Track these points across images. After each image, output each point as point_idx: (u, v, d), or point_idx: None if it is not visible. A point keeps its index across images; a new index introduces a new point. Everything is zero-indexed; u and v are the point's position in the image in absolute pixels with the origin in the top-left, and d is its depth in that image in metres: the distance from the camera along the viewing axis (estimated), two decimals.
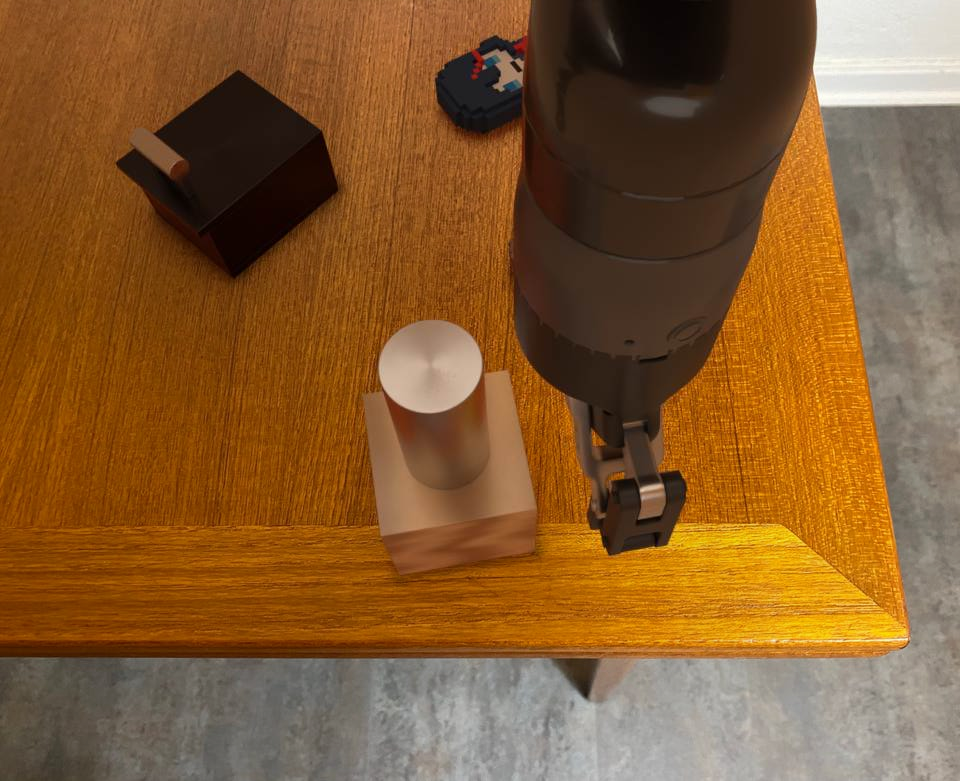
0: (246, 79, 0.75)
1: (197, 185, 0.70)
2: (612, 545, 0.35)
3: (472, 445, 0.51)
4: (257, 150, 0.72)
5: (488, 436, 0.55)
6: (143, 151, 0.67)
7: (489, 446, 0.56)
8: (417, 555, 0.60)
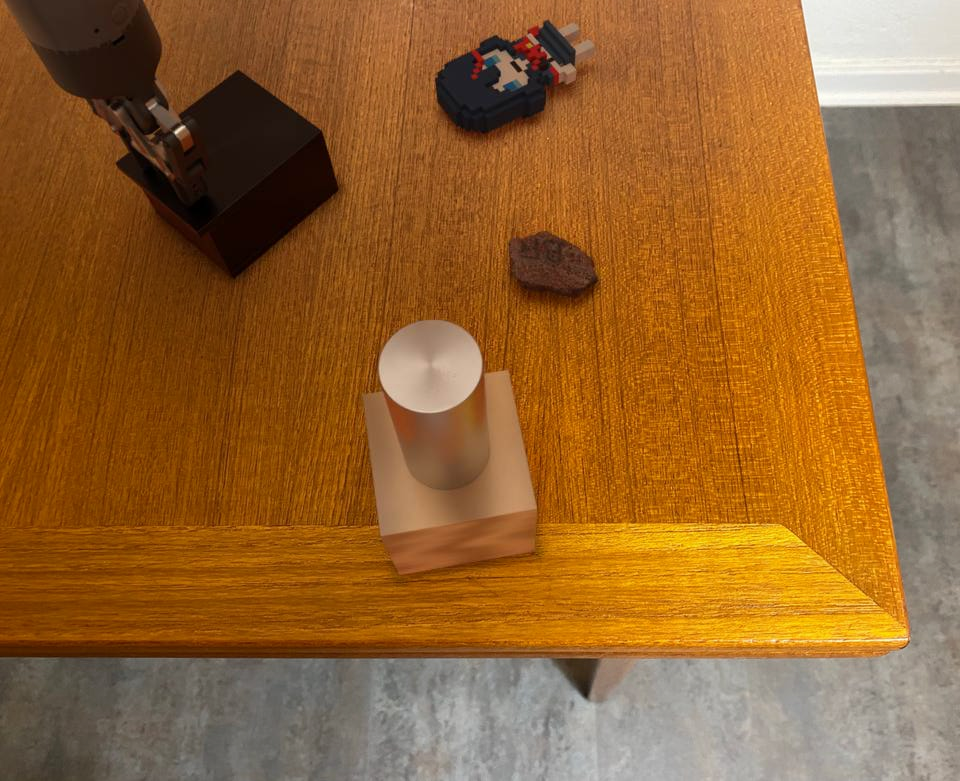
0: (246, 79, 0.75)
1: None
2: (182, 177, 0.63)
3: (472, 445, 0.51)
4: (257, 150, 0.72)
5: (488, 436, 0.55)
6: None
7: (489, 446, 0.56)
8: (417, 555, 0.60)
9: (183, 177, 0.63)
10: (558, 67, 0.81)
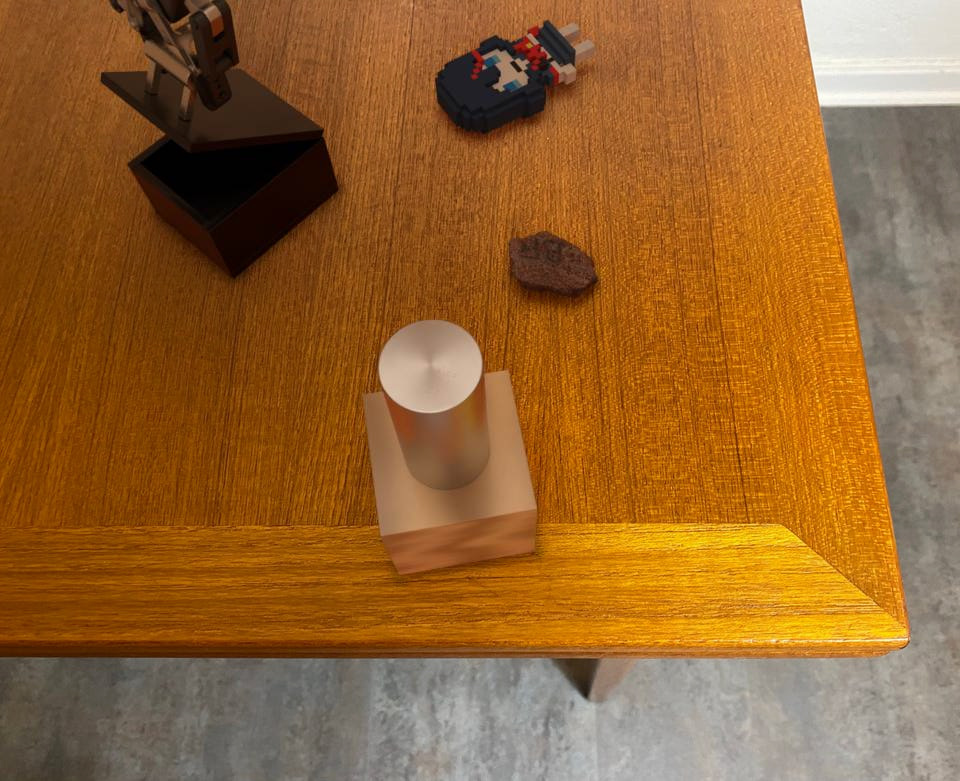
0: (248, 76, 0.75)
1: (193, 116, 0.66)
2: (210, 68, 0.59)
3: (472, 445, 0.51)
4: (258, 118, 0.69)
5: (488, 436, 0.55)
6: (160, 52, 0.63)
7: (489, 446, 0.56)
8: (417, 555, 0.60)
9: (210, 68, 0.59)
10: (558, 67, 0.81)
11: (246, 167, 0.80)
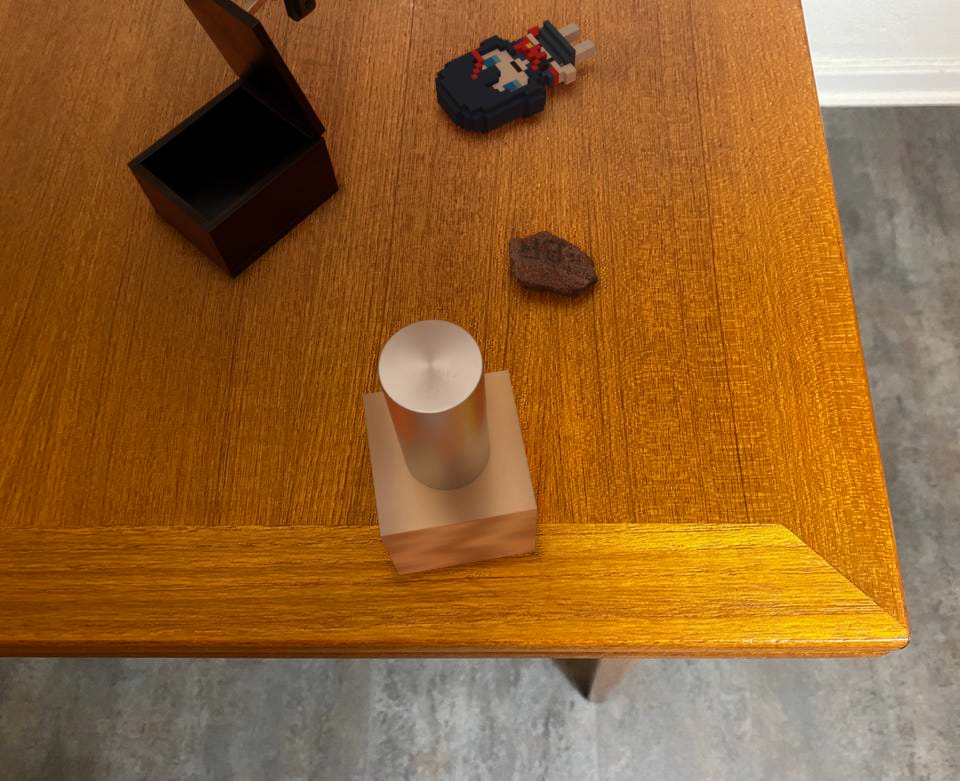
0: None
1: None
2: None
3: (472, 445, 0.51)
4: None
5: (488, 436, 0.55)
6: None
7: (489, 446, 0.56)
8: (417, 555, 0.60)
9: None
10: (558, 67, 0.81)
11: (246, 167, 0.80)
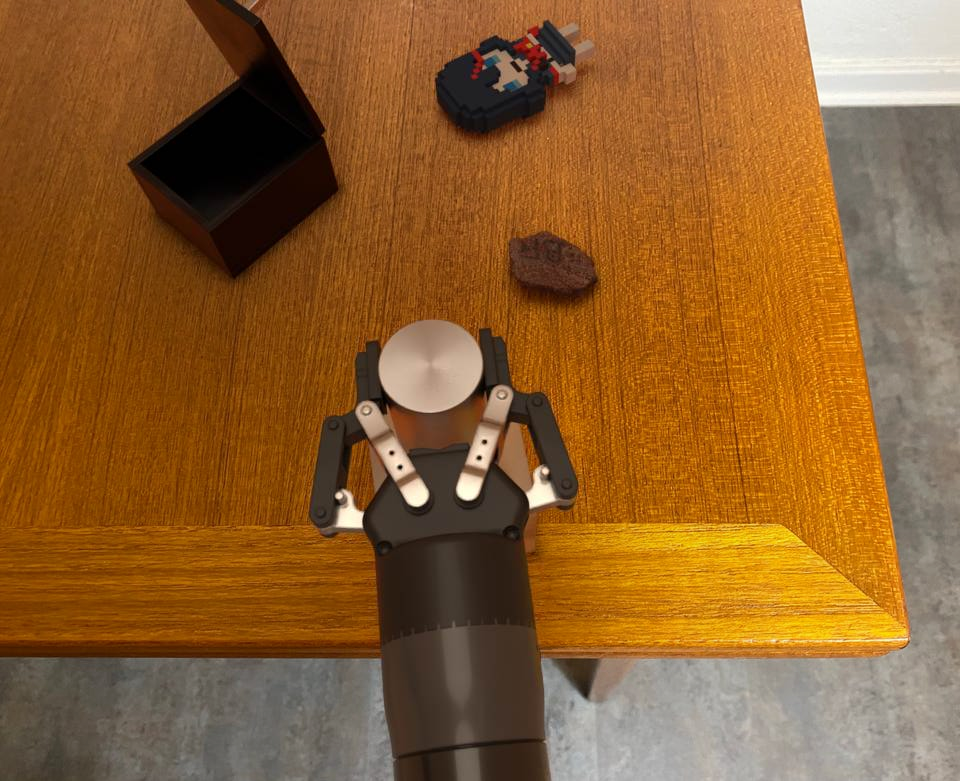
0: None
1: None
2: (319, 445, 0.45)
3: None
4: None
5: None
6: None
7: None
8: None
9: (319, 445, 0.46)
10: (558, 67, 0.81)
11: (246, 167, 0.80)
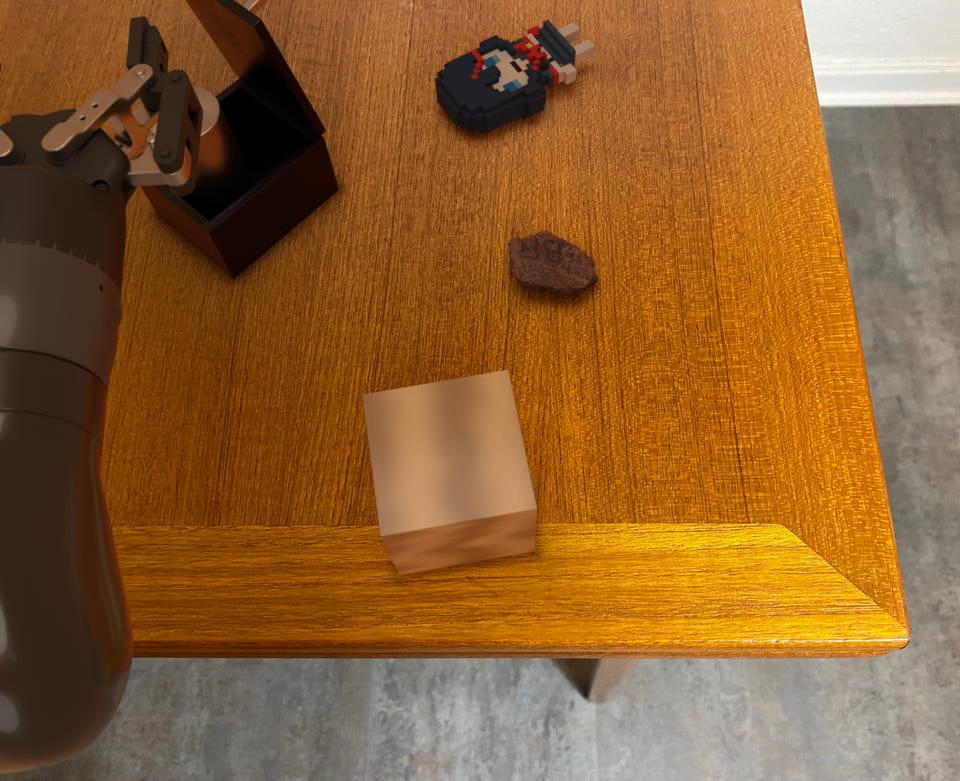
0: None
1: None
2: None
3: (230, 188, 0.72)
4: None
5: None
6: None
7: None
8: (417, 555, 0.60)
9: None
10: (558, 67, 0.81)
11: None
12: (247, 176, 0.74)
